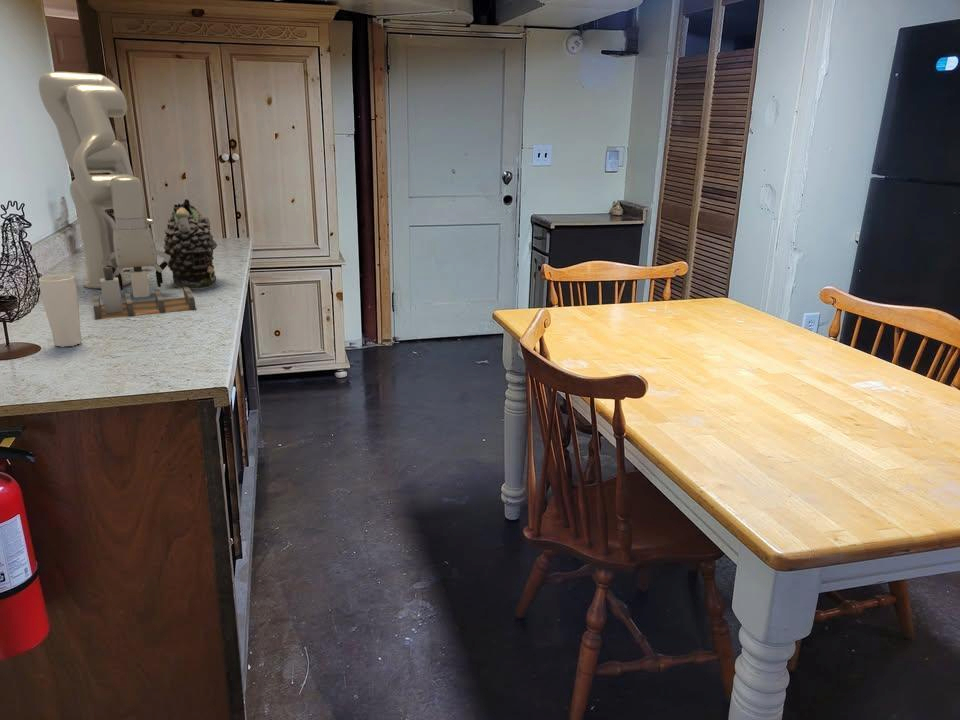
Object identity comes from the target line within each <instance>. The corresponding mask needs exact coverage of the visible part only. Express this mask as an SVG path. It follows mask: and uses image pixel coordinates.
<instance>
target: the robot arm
mask: <svg viewBox="0 0 960 720" xmlns="http://www.w3.org/2000/svg"><path fill="white" fill-rule="evenodd" d="M38 90H39V92H38V93H39V96H40V100H41V101H42V104H43V106H44V108H45V110H46V112H47V113H48V116H50V119H52V121H53V123H54V125H55V127H56V130H57V133H58V137H59V140H60V143H61V146H62V150H63V154H64V156H65V159H66V162H67V164H68V166H69V168H70V169H71V170H72V172H73V175H74V176H73V177H74V179H73V180H72V181H71V182H70V185H69V191H70V196H71V199H72V202H73V204H74V208H75V211H76V214H77V219H78V224H79V229H80V234H81V242H82V246H83V247H82V248H83V254H84V258H85V260H84V261H85V265H86V271H87V277H88V279H86V280H84V281H83V282H82V283H83V287H84V288H87V289H101V282H100V279H102V278H104V272H103V268H104V267H112V271H113V278H115V277H118V281H119V287H120V291H123V290H124V287H123V286H127V285H130V284H131V277H130V278H129V277H127V276H125V274H124V273H125V271H123V268H129V267H143V266H151V267H153V268H154V269H155V277H156V285H157V287H159V288H160V287H161V286H162V285H161V284H163V283H164V281H163V279H164V278H163V274H162V273H163V271H164V270H165V269H166V267H168V262H169V260H170V258H171V256H170V255H169V254H167V253H164V251H162V250H159V249H157V248H156V244H155V240H154V236H153V233H152V232H153V231H152V230H151V228H150V227H148V226H149V225H153V224H154V223H153V219H152V218H147V216H146V208H145V202H144V194H143V193H144V192H143V186H142V181H141V179H140V178H139V177H136V176H134V173H133V169H132V166H131V163H130V159H129V156H128V152H127V150H126V148H125V146H124V145H123V144H122V143H121V142H120V141H119V140H116V135H115V132H114V130H113V127H112V124H111V120H110V118H122V117H124V116H125V115H126V114H127V111H128V105H127V99H126V97H125V95H124V93H123V91H122V90H121V88H120V87H119V86H118V85H117V84H116V83H114V82H113V80H111V79H109V78H108V77H107V76H105V75H103V74H100V73H91V72H90V73H88V72H74V71H73V72H70V71H50V72H46V73H44V74H42V75H41V76H40V77H39V79H38ZM99 173H103V174H99ZM104 173H105V174H104ZM106 173H108V174H106ZM111 209H112V210H113V214H114V219H113V218H112V217H111V216H110V215H109V214H108V213H107V212H106V210H111ZM158 256H159V257H162V258H164V259H163V260H162V262H161V263H160V264H158Z"/></svg>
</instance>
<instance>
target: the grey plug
mask: <svg viewBox="0 0 960 720" xmlns="http://www.w3.org/2000/svg"><path fill="white" fill-rule="evenodd" d="M103 272H104V278H102V279H100V282H101V288H100V289H101V292H102V293H101V294H102V302H103V305H104V307H105V313H112V312H123V307H122V303H123V301H122V295H121V290H120V287H119V281H118V277H115V278H113V271H112V267H104V268H103Z"/></svg>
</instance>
